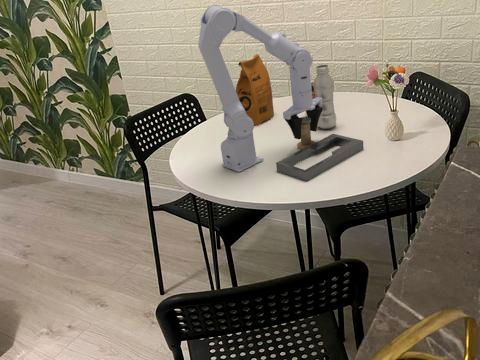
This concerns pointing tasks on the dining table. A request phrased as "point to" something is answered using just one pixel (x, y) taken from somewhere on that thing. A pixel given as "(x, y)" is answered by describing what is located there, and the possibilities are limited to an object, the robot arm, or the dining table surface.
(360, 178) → the dining table surface
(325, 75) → the plastic bottle
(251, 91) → the coffee package
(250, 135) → the robot arm
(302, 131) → the peg
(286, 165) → the keyhole plate
